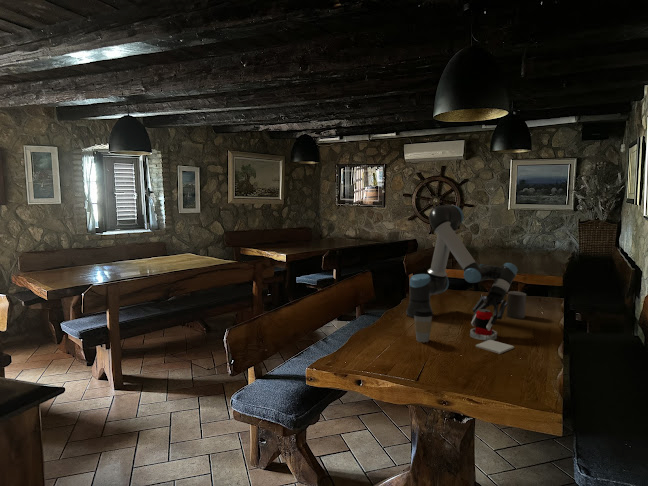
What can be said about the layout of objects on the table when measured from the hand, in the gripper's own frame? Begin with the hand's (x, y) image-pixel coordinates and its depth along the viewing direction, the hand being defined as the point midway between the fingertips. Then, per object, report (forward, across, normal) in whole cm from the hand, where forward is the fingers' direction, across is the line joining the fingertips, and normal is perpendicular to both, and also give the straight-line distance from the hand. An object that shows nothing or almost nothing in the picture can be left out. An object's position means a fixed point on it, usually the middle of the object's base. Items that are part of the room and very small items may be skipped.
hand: (479, 326), depth 210 cm
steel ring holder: (+1, 0, -6) cm, 6 cm away
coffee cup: (+21, +15, +13) cm, 29 cm away
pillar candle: (-31, +8, -39) cm, 50 cm away
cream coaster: (+8, -12, +1) cm, 15 cm away
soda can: (+1, 0, -6) cm, 6 cm away
